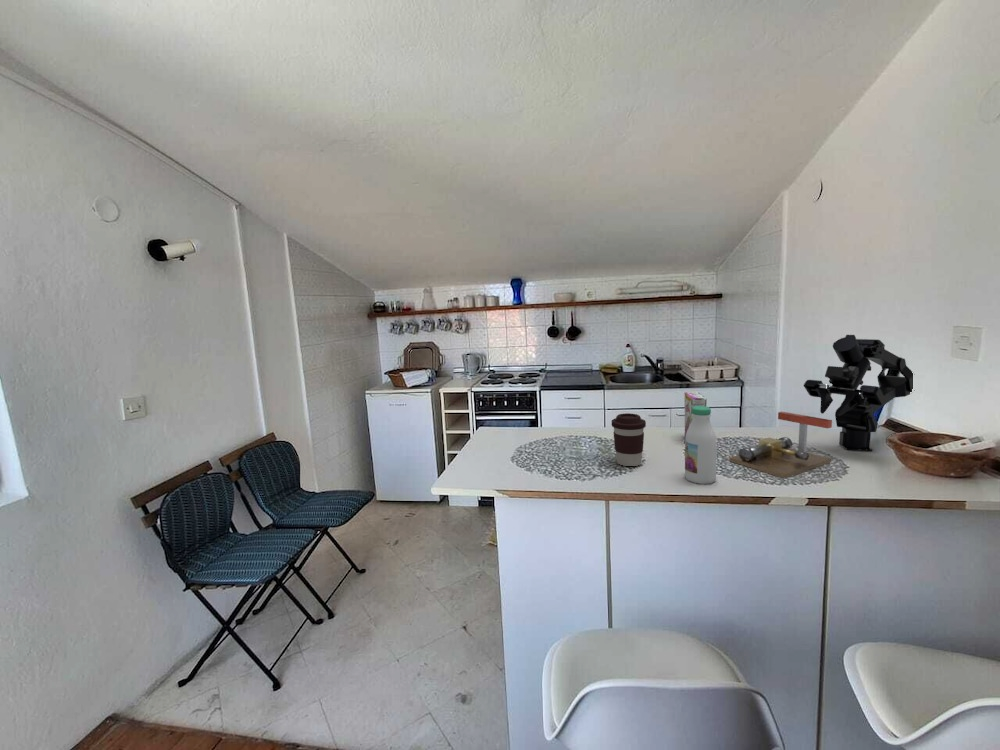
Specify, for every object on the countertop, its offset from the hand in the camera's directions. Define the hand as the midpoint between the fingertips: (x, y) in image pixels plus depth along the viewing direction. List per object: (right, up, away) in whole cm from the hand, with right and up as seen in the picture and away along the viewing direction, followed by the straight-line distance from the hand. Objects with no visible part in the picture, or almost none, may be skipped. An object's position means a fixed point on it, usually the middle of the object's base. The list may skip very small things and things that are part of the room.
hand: (829, 414), depth 124 cm
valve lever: (-11, -13, -4) cm, 17 cm away
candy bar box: (-29, -12, +24) cm, 39 cm away
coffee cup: (-58, -16, +6) cm, 60 cm away
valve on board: (-15, -14, 0) cm, 20 cm away
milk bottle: (-43, -17, -9) cm, 47 cm away
